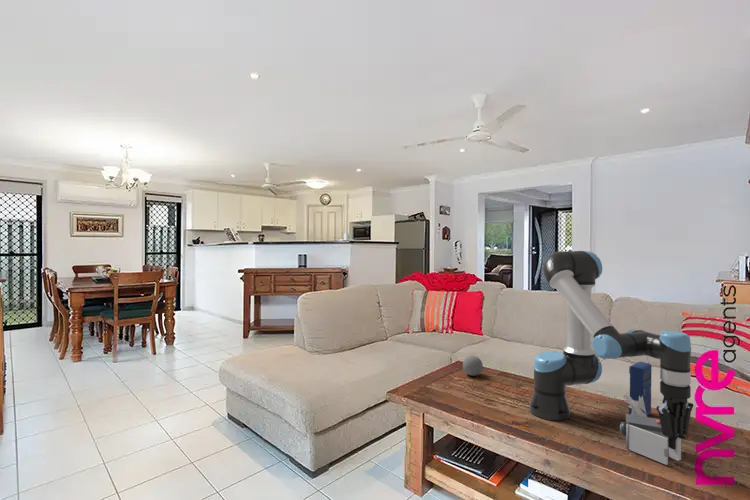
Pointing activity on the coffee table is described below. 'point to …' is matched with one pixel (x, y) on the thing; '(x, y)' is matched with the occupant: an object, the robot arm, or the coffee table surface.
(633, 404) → the figurine
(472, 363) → the decorative ball
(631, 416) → the camera body
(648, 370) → the electronic device
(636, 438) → the door
